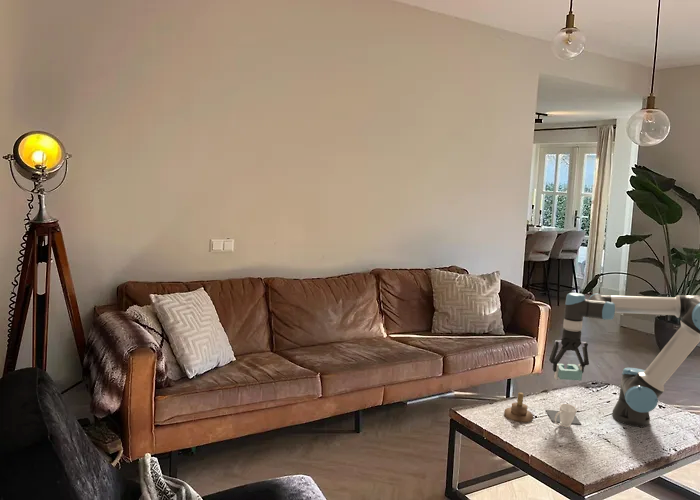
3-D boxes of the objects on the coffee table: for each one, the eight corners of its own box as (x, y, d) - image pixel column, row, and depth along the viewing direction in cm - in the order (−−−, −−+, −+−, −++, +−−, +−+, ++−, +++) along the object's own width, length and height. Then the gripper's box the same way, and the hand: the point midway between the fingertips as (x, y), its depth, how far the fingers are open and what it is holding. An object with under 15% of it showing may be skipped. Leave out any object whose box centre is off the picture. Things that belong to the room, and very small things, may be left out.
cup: (577, 427, 249) (580, 410, 247) (559, 431, 245) (562, 415, 243) (565, 418, 255) (568, 402, 253) (547, 422, 251) (550, 406, 249)
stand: (529, 411, 262) (531, 389, 260) (535, 423, 250) (538, 400, 249) (501, 409, 263) (504, 387, 261) (507, 421, 251) (509, 397, 249)
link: (581, 380, 250) (582, 371, 250) (560, 379, 251) (561, 370, 250) (574, 373, 259) (575, 364, 259) (553, 371, 260) (554, 363, 259)
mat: (572, 413, 264) (572, 412, 264) (581, 424, 252) (581, 423, 252) (545, 410, 265) (545, 409, 264) (552, 422, 253) (552, 421, 253)
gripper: (594, 327, 255) (589, 377, 258) (544, 325, 256) (539, 374, 259) (601, 332, 248) (595, 383, 251) (549, 330, 249) (544, 380, 252)
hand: (567, 379), depth 255 cm, fingers closed on link, 9 cm apart
